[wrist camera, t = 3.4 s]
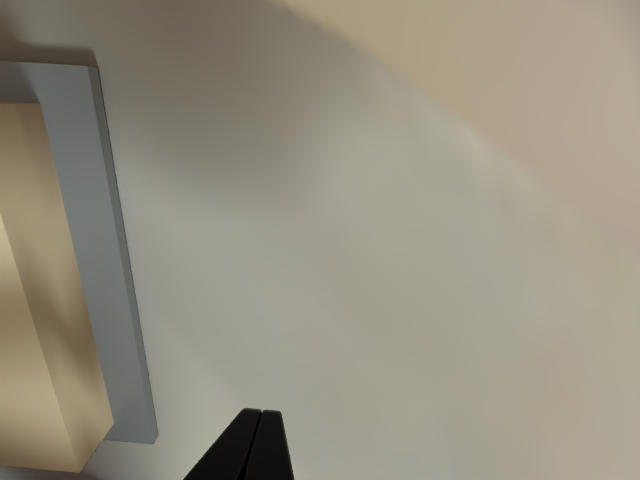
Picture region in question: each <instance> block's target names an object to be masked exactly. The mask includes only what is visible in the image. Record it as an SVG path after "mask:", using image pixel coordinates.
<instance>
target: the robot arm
mask: <svg viewBox="0 0 640 480" xmlns="http://www.w3.org/2000/svg"><path fill="white" fill-rule="evenodd" d="M183 480H294V475H293V470H292V465H291V460H290V454H289V449H288V444H287V439H286V434H285V429H284V424H283V419H282V414H281V412H280V411H275V410H264V411H263V412H262V411H261V410H260V409H252V408H244V409H243V410H241V412H240V413H239V414H238V415H237V416H236V417H235V419H234V420H233V421H232V422H231V423H230V425H229V426H228V427H227V428H226V429H225V430H224V432H223V433H222V434H221V435H220V436H219V438H218V439H217V440H216V441H215V442H214V444H213V445H212V446H211V447H210V448H209V449H208V451H207V452H206V453H205V454H204V455H203V457H202V458H201V459H200V460H199V461H198V463H197V464H196V465H195V466H194V467H193V468H192V470H191V471H190V472H189V473H188V474H187V476H186V477H185V478H184V479H183Z"/></svg>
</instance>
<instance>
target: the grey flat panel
mask: <svg viewBox="0 0 640 480" xmlns="http://www.w3.org/2000/svg"><path fill="white" fill-rule="evenodd" d="M0 101H8V102H23V103H38V104H41V108H42V112H43V117H44V121H45V126H46V130H47V134H48V139H49V143H50V147H51V152H52V156H53V160H54V165H55V169H56V173H57V178H58V182H59V187H60V191H61V195H62V200H63V204H64V208H65V213H66V217H67V221H68V226H69V230H70V234H71V239H72V243H73V248H74V252H75V256H76V261H77V265H78V269H79V274H80V278H81V282H82V287H83V291H84V295H85V300H86V304H87V309H88V313H89V317H90V322H91V326H92V330H93V335H94V339H95V343H96V348H97V352H98V356H99V361H100V365H101V370H102V374H103V378H104V383H105V387H106V391H107V396H108V400H109V404H110V409H111V413H112V417H113V422H114V424H113V425H112V427H111V428H110V430H109V431H108V433H107V434H106V435H105V437H104V438H103V440H113V441H124V442H134V443H145V444H154V443H155V441H156V439H157V437H158V431H157V425H156V419H155V413H154V407H153V401H152V394H151V388H150V382H149V376H148V370H147V364H146V358H145V352H144V346H143V340H142V334H141V328H140V322H139V316H138V310H137V304H136V298H135V292H134V286H133V280H132V274H131V268H130V261H129V255H128V249H127V243H126V237H125V231H124V225H123V219H122V213H121V207H120V201H119V195H118V189H117V183H116V177H115V171H114V165H113V159H112V153H111V147H110V141H109V135H108V128H107V122H106V116H105V110H104V104H103V98H102V92H101V86H100V80H99V74H98V68H97V67H91V66H80V65H64V64H48V63H32V62H16V61H0Z"/></svg>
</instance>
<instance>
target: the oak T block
mask: <svg viewBox="0 0 640 480" xmlns="http://www.w3.org/2000/svg"><path fill="white" fill-rule="evenodd" d="M113 424H114V422H113V417H112V413H111V409H110V404H109V400H108V396H107V391H106V387H105V383H104V378H103V374H102V370H101V365H100V361H99V356H98V352H97V348H96V343H95V339H94V335H93V330H92V326H91V322H90V317H89V313H88V309H87V304H86V300H85V295H84V291H83V287H82V282H81V278H80V274H79V269H78V265H77V261H76V256H75V252H74V248H73V243H72V239H71V234H70V230H69V226H68V221H67V217H66V213H65V208H64V204H63V200H62V195H61V191H60V187H59V182H58V178H57V173H56V169H55V165H54V160H53V156H52V152H51V147H50V143H49V139H48V134H47V130H46V126H45V121H44V117H43V112H42V108H41V104H38V103H23V102H8V101H0V465H2V466H12V467H23V468H33V469H43V470H54V471H64V472H75V473H80V471H81V470H82V469H83V467H84V466H85V464H86V463H87V461H88V460H89V458H90V457H91V456H92V454H93V453H94V451H95V450H96V448H97V447H98V446H99V444H100V443H101V441H102V440H103V438H104V437H105V435H106V434H107V433H108V431H109V430H110V428H111V427H112V425H113Z"/></svg>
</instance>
